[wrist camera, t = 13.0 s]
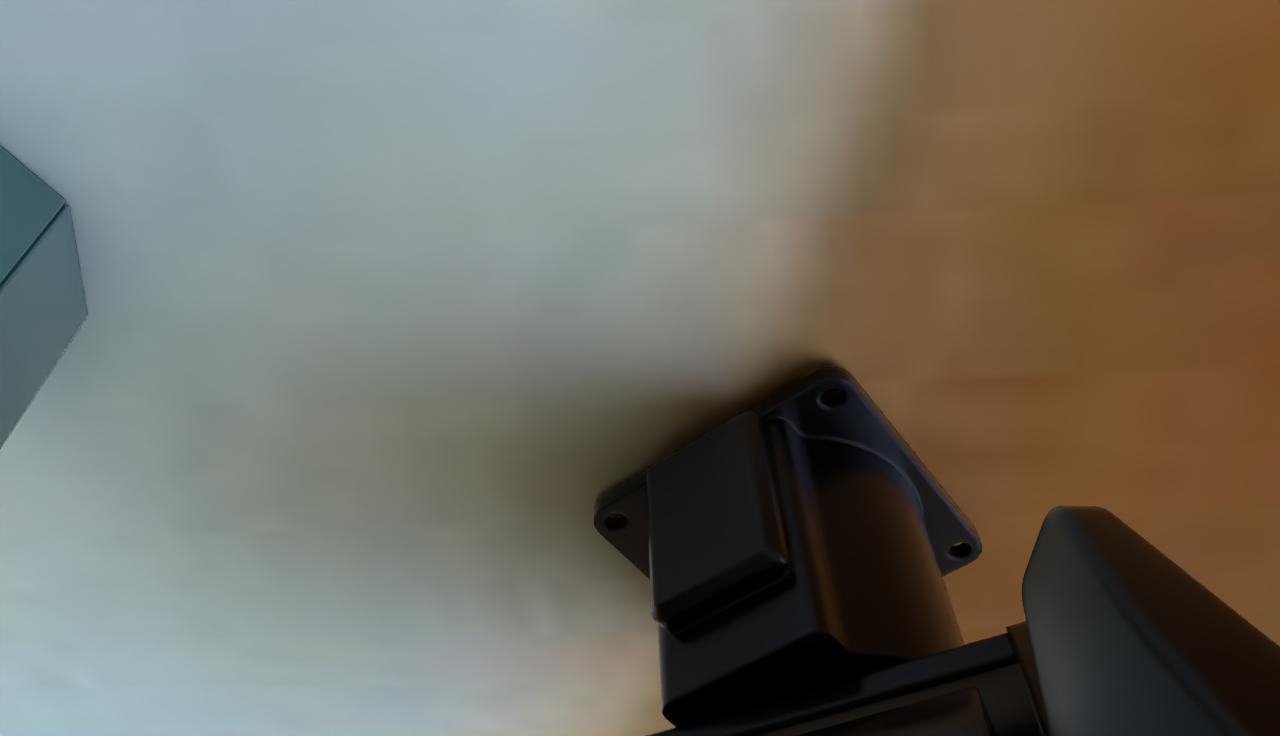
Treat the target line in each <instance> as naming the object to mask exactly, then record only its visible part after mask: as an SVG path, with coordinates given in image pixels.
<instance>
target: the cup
mask: <svg viewBox="0 0 1280 736" xmlns="http://www.w3.org/2000/svg"><path fill="white" fill-rule="evenodd" d="M65 202H66V201H65V199H64V198H62V197H61V196H60V195H59V194H58V193H56V192H55V191H54V190H53V189H52V188H50V187H49V186H48V185H47V184H46V183H44V182H43V181H42V180H41V179H40V178H38V177H37V176H36V175H35V174H34V173H32V172H31V171H30V170H29V169H28V168H26V167H25V166H24V165H23V164H22V163H21V162H19V161H18V160H17V159H16V158H15V157H13V156H12V155H11V154H10V153H9V152H7V151H6V150H5V149H4V148H3V147H1V146H0V449H1V448H2V446H3V445H4V443H5V442H6V440H7V438H8V437H9V435H10V434H11V432H12V431H13V429H14V428H15V426H16V425H17V423H18V422H19V420H20V419H21V417H22V416H23V414H24V413H25V411H26V410H27V408H28V407H29V405H30V404H31V402H32V401H33V399H34V398H35V396H36V394H37V393H38V391H39V390H40V388H41V387H42V385H43V384H44V382H45V381H46V379H47V378H48V376H49V375H50V373H51V372H52V370H53V369H54V367H55V366H56V364H57V363H58V361H59V360H60V358H61V357H62V355H63V354H64V352H65V351H66V349H67V347H68V346H69V344H70V343H71V341H72V340H73V338H74V337H75V335H76V334H77V332H78V331H79V329H80V328H81V326H82V325H83V323H84V322H85V320H86V316H87V315H88V312H87V306H86V300H85V294H84V289H83V283H82V277H81V271H80V265H79V259H78V254H77V248H76V242H75V236H74V230H73V224H72V219H71V213H70V207H69V206H68V205H64V204H65Z"/></svg>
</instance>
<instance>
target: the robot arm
mask: <svg viewBox="0 0 1280 736" xmlns="http://www.w3.org/2000/svg"><path fill="white" fill-rule="evenodd" d="M831 388H839V389H841V390H840V391H839V392H838V393H837V394H835V395H832V396H824V395H822V394H823V393H824V392H825V391H826V390H828V389H831ZM614 513H618V514H623V515H624V516H622V517H619V518H615V517H611V516H609V515H611V514H614ZM594 526H595V528H596V529H597V531H598V532H599V533H600V534H601V535H602V536H603V537H604V538H605V539H606V540H608V541H609V542H610V543H611V544H612V545H613V546H614V547H615V548H616V549H617V550H619V551H620V552H621V553H622V554H623V555H624V556H625V557H626V558H627V559H628V560H629V561H631V562H632V563H633V564H634V565H635V566H636V567H637V568H638V569H639V570H640V571H642V572H643V573H644V574H645V575H646V576H647V577H648V578H649V579H650V587H651V608H652V616H653V619H654V620H655V621H656V622H657V623H658V641H659V660H660V679H661V698H662V713H663V715H664V717H665V718H666V719H667V720H668V721H670V722H671V723H672V724H673V725H674V728H671V729H667V730H664V731H660V732H657V733H653V734H650V735H646V736H1280V647H1279V646H1278V645H1277V644H1276V643H1274V642H1273V641H1272V640H1271V639H1269V638H1268V637H1267V636H1266V635H1264V634H1263V633H1262V632H1261V631H1259V630H1258V629H1257V628H1256V627H1254V626H1253V625H1252V624H1251V623H1249V622H1248V621H1247V620H1246V619H1244V618H1243V617H1242V616H1241V615H1239V614H1238V613H1237V612H1235V611H1234V610H1233V609H1232V608H1230V607H1229V606H1228V605H1227V604H1225V603H1224V602H1223V601H1222V600H1220V599H1219V598H1218V597H1217V596H1215V595H1214V594H1213V593H1212V592H1210V591H1209V590H1208V589H1207V588H1205V587H1204V586H1203V585H1202V584H1200V583H1199V582H1198V581H1197V580H1195V579H1194V578H1193V577H1192V576H1190V575H1189V574H1188V573H1187V572H1185V571H1184V570H1183V569H1181V568H1180V567H1179V566H1178V565H1176V564H1175V563H1174V562H1173V561H1171V560H1170V559H1169V558H1168V557H1166V556H1165V555H1164V554H1163V553H1161V552H1160V551H1159V550H1158V549H1156V548H1155V547H1154V546H1153V545H1151V544H1150V543H1149V542H1148V541H1146V540H1145V539H1144V538H1143V537H1141V536H1140V535H1139V534H1138V533H1136V532H1135V531H1134V530H1133V529H1131V528H1130V527H1129V526H1127V525H1126V524H1125V523H1124V522H1122V521H1121V520H1120V519H1119V518H1117V517H1116V516H1115V515H1114V514H1112V513H1111V512H1109V511H1108V510H1106V509H1104V508H1101V507H1096V506H1058V507H1055V508H1053V509H1051V510H1050V511H1049V512H1048V514H1047V515H1046V517H1045V519H1044V521H1043V524H1042V527H1041V530H1040V532H1039V535H1038V538H1037V541H1036V543H1035V546H1034V549H1033V552H1032V554H1031V557H1030V560H1029V563H1028V566H1027V568H1026V571H1025V574H1024V578H1023V584H1022V600H1023V607H1024V612H1025V617H1026V622H1022V623H1019V624H1015V625H1012V626H1008V627H1006V629H1007V632H1008V633H1004V634H1001V635H997V636H994V637H990V638H987V639H983V640H980V641H976V642H973V643H969V644H966V645H964V641H963V638H962V635H961V632H960V629H959V626H958V623H957V620H956V617H955V614H954V611H953V608H952V605H951V602H950V599H949V596H948V593H947V590H946V587H945V584H944V581H943V578H942V576H945V575H947V574H949V573H951V572H953V571H955V570H957V569H959V568H961V567H963V566H965V565H967V564H969V563H971V562H972V561H974V560H975V559H977V558H978V556H979V555H980V554H981V552H982V544H981V541H980V538H979V536H978V533H977V531H976V528H975V527H974V526H973V524H972V523H971V522H970V521H969V520H968V518H967V517H966V516H965V515H964V513H963V512H962V511H961V510H960V508H959V507H958V506H957V505H956V503H955V502H954V501H953V500H952V498H951V497H950V496H949V495H948V494H947V492H946V491H945V490H944V489H943V487H942V486H941V485H940V484H939V482H938V481H937V480H936V479H935V477H934V476H933V475H932V474H931V472H930V471H929V470H928V469H927V467H926V466H925V465H924V464H923V463H922V461H921V460H920V459H919V458H918V456H917V455H916V454H915V453H914V451H913V450H912V449H911V448H910V446H909V445H908V444H907V443H906V441H905V440H904V439H903V438H902V437H901V435H900V434H899V433H898V432H897V430H896V429H895V428H894V427H893V425H892V424H891V423H890V422H889V420H888V419H887V418H886V417H885V415H884V414H883V413H882V412H881V410H880V409H879V408H878V407H877V406H876V404H875V403H874V402H873V401H872V399H871V398H870V397H869V396H868V394H867V393H866V392H865V391H864V389H863V388H862V387H861V386H860V384H859V383H858V382H857V381H856V379H855V378H854V377H853V376H852V375H851V374H850V373H849V372H848V371H847V370H845V369H843V368H839V367H836V366H835V367H825V368H822V369H820V370H817V371H816V372H814V373H812V374H810V375H809V376H807V377H805V378H804V379H802V380H800V381H798V382H797V383H795V384H793V385H792V386H790V387H788V388H786V389H785V390H783V391H781V392H780V393H778V394H776V395H774V396H773V397H771V398H769V399H768V400H766V401H764V402H762V403H761V404H759V405H757V406H756V407H754V408H752V409H751V410H749V411H747V412H745V413H742V414H739V415H737V416H736V417H734V418H732V419H730V420H729V421H727V422H725V423H724V424H722V425H720V426H718V427H717V428H715V429H713V430H712V431H710V432H708V433H706V434H705V435H703V436H701V437H700V438H698V439H696V440H695V441H693V442H691V443H689V444H688V445H686V446H684V447H683V448H681V449H679V450H677V451H676V452H674V453H672V454H671V455H669V456H667V457H665V458H664V459H662V460H660V461H659V462H657V463H655V464H653V465H652V466H650V467H649V469H648V470H646V471H644V472H643V473H641V474H639V475H638V476H636V477H634V478H632V479H631V480H629V481H627V482H626V483H624V484H622V485H620V486H619V487H617V488H615V489H614V490H612V491H610V492H609V493H607V494H605V495H603V496H602V497H601V498H600V499H598V500H597V501H596V504H595V506H594ZM960 542H963V543H962V544H960V545H957V546H953V545H954V544H957V543H960Z"/></svg>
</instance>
